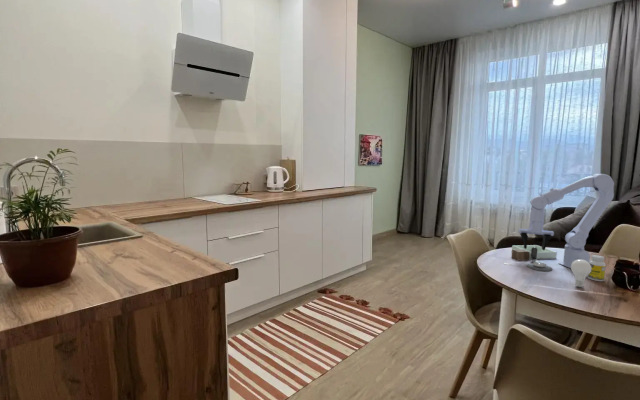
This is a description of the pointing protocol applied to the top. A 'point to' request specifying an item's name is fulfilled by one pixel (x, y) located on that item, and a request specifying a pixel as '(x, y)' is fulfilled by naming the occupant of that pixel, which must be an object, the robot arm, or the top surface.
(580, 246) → the robot arm
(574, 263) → the lightbulb
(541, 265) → the crank
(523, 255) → the brown wooden block
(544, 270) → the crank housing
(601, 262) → the supplement bottle
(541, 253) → the tray
